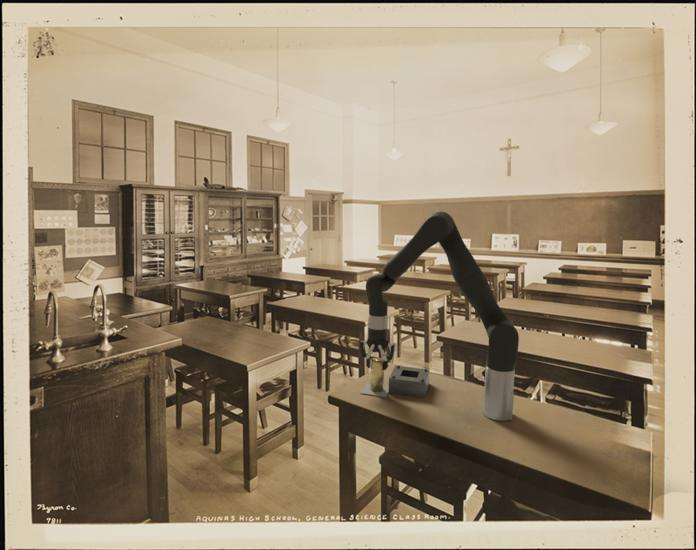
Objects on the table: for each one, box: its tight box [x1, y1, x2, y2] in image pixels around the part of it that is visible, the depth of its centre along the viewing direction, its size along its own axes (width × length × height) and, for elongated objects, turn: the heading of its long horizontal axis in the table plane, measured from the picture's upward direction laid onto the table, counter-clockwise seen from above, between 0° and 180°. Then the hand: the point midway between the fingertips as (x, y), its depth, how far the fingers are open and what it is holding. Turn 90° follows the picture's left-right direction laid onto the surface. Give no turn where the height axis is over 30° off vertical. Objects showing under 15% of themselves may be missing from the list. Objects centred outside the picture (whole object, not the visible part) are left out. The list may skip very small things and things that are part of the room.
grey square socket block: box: [388, 365, 431, 399], centre depth 161 cm, size 14×14×7 cm
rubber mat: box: [360, 382, 390, 398], centre depth 159 cm, size 10×10×1 cm
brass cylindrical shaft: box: [370, 357, 385, 392], centre depth 158 cm, size 5×5×12 cm
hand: (376, 368), depth 158 cm, fingers open, 5 cm apart
